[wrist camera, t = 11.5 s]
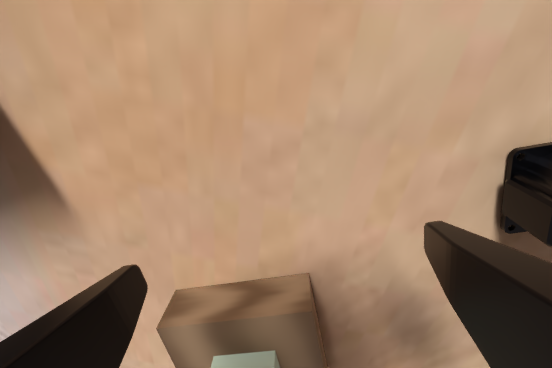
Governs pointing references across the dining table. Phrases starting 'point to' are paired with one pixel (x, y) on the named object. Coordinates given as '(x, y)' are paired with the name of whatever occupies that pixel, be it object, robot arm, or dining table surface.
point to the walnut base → (244, 322)
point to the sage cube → (247, 360)
